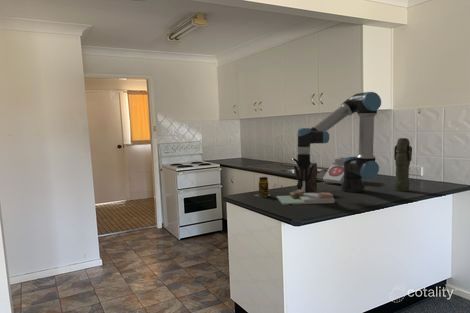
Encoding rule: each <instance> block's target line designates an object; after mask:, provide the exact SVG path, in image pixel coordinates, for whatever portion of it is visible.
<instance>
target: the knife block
mask: <svg viewBox="0 0 470 313" xmlns="http://www.w3.org/2000/svg"><path fill="white" fill-rule="evenodd" d="M311 164H312V165H314V168H313V170H312V174H311V177H310V180H309V181H307V186H306V187H305V192H303V193H317V190H318V187H317V186H318V182H317V181H318V180H317V176H318V165H317V162H311ZM297 169H298V173H299V177H300V168H299V167H298V168H297ZM309 169H310V166H309V167H308V168H307V176H308V173H309ZM303 181H304V169H303ZM296 187H297V190H299V189H300V190H302V187H301V186H300V181H298V180H297V184H296Z"/></svg>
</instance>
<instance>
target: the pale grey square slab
mask: <svg viewBox="0 0 470 313" xmlns="http://www.w3.org/2000/svg"><path fill="white" fill-rule="evenodd" d="M318 193H319V192H316V193H304V195H301V196H298V198H299V199H300V200H301V201H303V202H304V204H303V205H310V204H311V205H312V204H313V205H315V204H335V202H336V200H335V198H334V197H333V198H329V199H321V198H320V197H318ZM321 193H325V192H324V191H323V192H322V191H321Z"/></svg>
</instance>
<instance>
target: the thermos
mask: <svg viewBox="0 0 470 313" xmlns="http://www.w3.org/2000/svg"><path fill="white" fill-rule="evenodd" d="M410 143H411V142H410V140H409V139H408V137H406V138H405V137H403V138H402V137H400V138H398V139H397V142H396V145H394V153H393V156H394V161H395V163H394V164H395V179H394V184H393V185H394V191H396V192H409V191H410V189H409V188H410V179H409V177H410V176H409V174H410V172H409V171H410V166H411V161H412V156H413V155H412V154H413V146H411V144H410Z"/></svg>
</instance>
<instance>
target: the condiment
mask: <svg viewBox="0 0 470 313" xmlns="http://www.w3.org/2000/svg"><path fill="white" fill-rule="evenodd" d="M269 196H271V194H269V181H268V177H267V176H260V177H259V181H258V193H257V194H255V195H254V197H261V198H267V197H269Z"/></svg>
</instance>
